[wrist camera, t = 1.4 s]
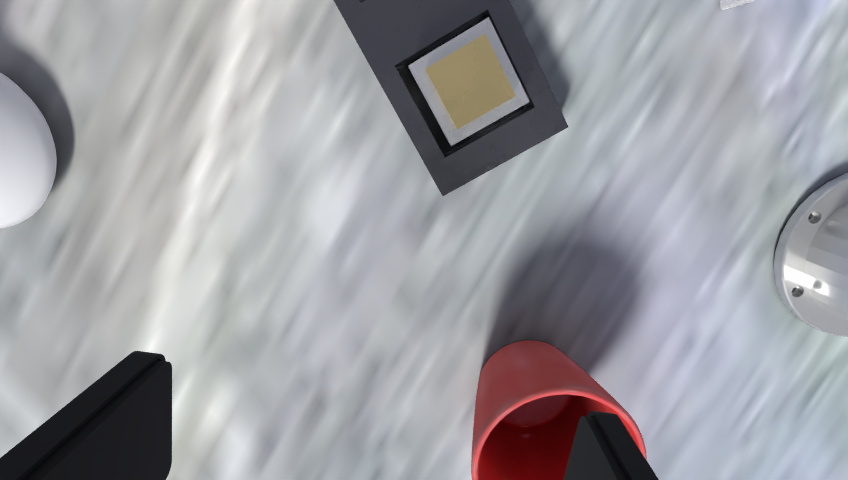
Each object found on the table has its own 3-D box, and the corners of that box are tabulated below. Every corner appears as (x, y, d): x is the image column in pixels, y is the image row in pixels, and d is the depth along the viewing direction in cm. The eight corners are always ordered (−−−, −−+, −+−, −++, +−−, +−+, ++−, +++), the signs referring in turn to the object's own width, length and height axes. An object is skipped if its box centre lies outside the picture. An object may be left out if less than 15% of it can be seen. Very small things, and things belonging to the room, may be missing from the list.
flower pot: (613, 335, 37) (676, 412, 27) (569, 452, 39) (613, 558, 30) (481, 306, 36) (499, 373, 27) (446, 426, 39) (452, 525, 29)
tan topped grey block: (477, 35, 31) (491, 13, 24) (511, 103, 32) (533, 101, 25) (411, 74, 32) (407, 63, 25) (447, 140, 33) (451, 147, 26)
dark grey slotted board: (404, -193, 28) (401, -228, 25) (555, 125, 32) (568, 126, 30) (277, -106, 29) (261, -131, 26) (441, 189, 34) (442, 196, 31)
